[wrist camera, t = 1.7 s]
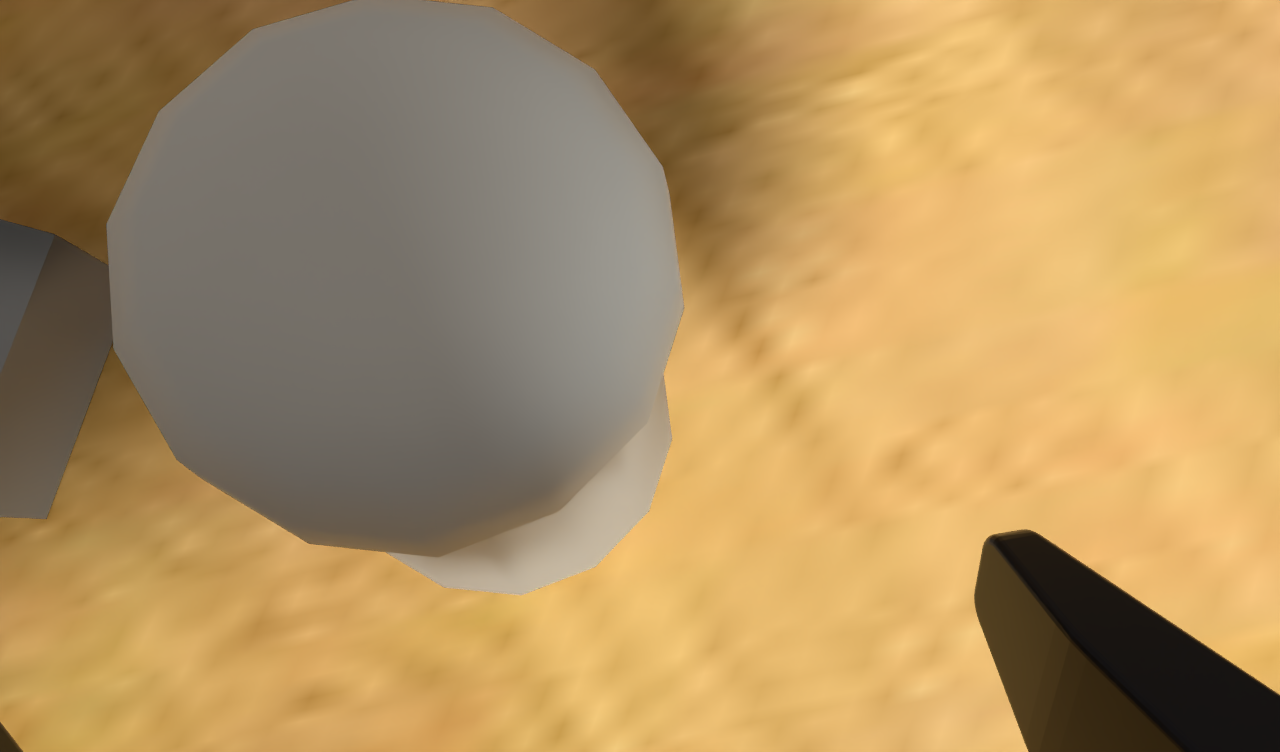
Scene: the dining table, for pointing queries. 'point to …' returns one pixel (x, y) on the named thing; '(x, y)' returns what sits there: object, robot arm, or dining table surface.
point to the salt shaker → (406, 291)
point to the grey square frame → (46, 360)
